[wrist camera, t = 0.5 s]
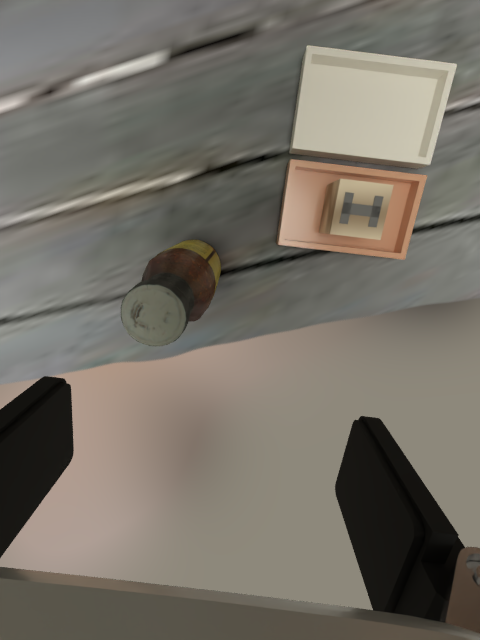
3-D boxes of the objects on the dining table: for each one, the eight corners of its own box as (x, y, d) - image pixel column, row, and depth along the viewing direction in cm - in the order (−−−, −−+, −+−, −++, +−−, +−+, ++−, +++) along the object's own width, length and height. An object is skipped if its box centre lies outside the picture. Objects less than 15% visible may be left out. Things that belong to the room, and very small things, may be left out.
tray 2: (287, 163, 34) (290, 159, 31) (414, 178, 34) (427, 175, 32) (276, 243, 36) (278, 244, 34) (394, 257, 36) (404, 259, 34)
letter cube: (327, 184, 34) (340, 178, 29) (372, 190, 34) (394, 184, 29) (318, 232, 35) (330, 234, 30) (362, 237, 35) (380, 240, 30)
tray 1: (302, 59, 31) (307, 45, 29) (440, 76, 31) (457, 64, 29) (289, 153, 33) (292, 148, 31) (417, 168, 34) (430, 164, 31)
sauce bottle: (159, 259, 37) (69, 297, 18) (200, 227, 36) (149, 232, 17) (194, 302, 39) (143, 379, 20) (234, 273, 37) (221, 324, 18)
